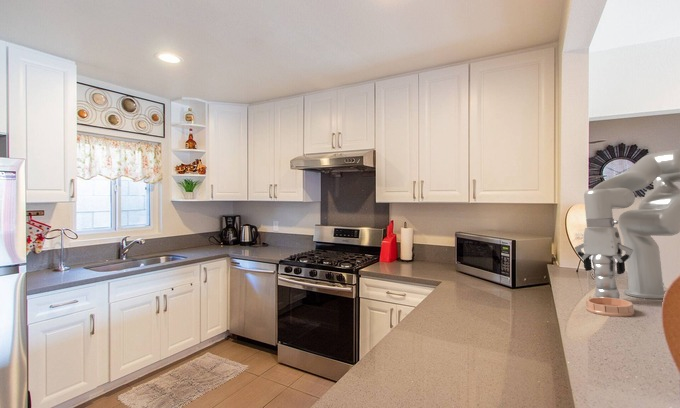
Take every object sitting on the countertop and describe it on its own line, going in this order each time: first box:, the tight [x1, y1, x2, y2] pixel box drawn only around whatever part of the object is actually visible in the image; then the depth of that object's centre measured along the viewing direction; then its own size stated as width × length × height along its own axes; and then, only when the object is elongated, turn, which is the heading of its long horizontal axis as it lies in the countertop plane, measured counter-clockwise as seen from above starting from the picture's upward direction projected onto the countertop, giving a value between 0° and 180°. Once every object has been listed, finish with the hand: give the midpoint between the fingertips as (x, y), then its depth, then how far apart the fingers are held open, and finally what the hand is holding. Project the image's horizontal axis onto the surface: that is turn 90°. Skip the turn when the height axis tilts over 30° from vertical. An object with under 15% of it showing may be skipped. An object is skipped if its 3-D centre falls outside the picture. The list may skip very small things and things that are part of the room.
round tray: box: [585, 296, 635, 318], centre depth 106 cm, size 12×12×3 cm
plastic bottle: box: [591, 255, 620, 299], centre depth 116 cm, size 6×7×20 cm
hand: (604, 271), depth 116 cm, fingers open, 9 cm apart
